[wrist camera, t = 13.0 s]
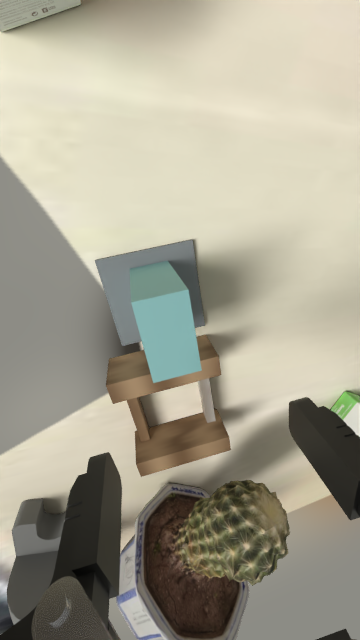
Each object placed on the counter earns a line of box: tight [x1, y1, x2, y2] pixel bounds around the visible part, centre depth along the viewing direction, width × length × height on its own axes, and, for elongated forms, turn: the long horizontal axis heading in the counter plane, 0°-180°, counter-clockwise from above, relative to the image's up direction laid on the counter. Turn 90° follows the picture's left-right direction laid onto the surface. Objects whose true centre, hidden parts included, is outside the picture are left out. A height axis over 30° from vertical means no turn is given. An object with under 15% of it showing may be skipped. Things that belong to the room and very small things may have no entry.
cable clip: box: [7, 498, 69, 625], centre depth 37 cm, size 10×18×11 cm, turn 171°
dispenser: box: [106, 335, 231, 477], centre depth 32 cm, size 12×15×5 cm
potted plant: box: [116, 480, 290, 640], centre depth 35 cm, size 18×18×30 cm
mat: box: [95, 240, 205, 346], centre depth 28 cm, size 10×10×1 cm
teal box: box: [130, 261, 202, 383], centre depth 23 cm, size 4×7×10 cm, turn 10°
